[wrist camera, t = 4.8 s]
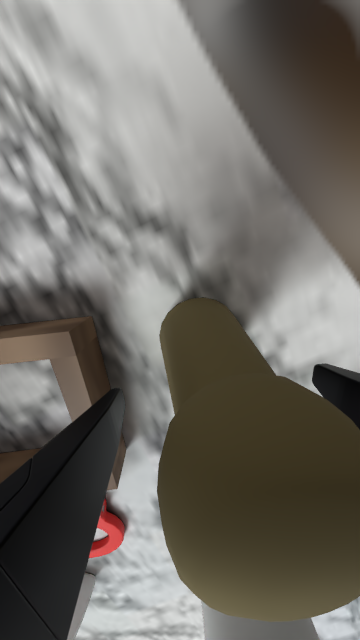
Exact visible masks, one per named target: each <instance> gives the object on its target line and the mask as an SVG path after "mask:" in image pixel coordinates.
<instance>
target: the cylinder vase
mask: <svg viewBox="0 0 360 640" xmlns="http://www.w3.org/2000/svg"><path fill="white" fill-rule="evenodd" d="M201 603H202V613H203V624H204V634H205V640H320V639H319V637H318V634H317V632H316V630H315V627H314V625H313V622H312V620H311V618H306V619H300V620H294V621H284V622H268V621H261V620H254V619H247V618H241V617H235V616H228V615H226V614H223V613H221V612H219V611H217V610H214V609H212V608H210V607H209V606H207V605H206V604H205V603H204V602H203V601H202V600H201Z"/></svg>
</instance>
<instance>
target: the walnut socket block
mask: <svg viewBox="0 0 360 640" xmlns="http://www.w3.org/2000/svg"><path fill="white" fill-rule="evenodd" d="M45 359H50V362H51V364H52V367H53V370H54V373H55V375H56V378H57V381H58V384H59V387H60V389H61V392H62V395H63V398H64V400H65V403H66V406H67V409H68V411H69V414H70V417H71V420H72V422H73V421H74V420H76V419H77V418H78V417H79V416H80V415H81V414H83V413H84V412H85V411H86V410H87V409H88V408H90V407H91V406H92V405H93V404H94V403H96V402H97V401H98V400H99V399H100V398H101V397H103V396H104V395H105V394H106V393H107V392H108V391H110V390H111V388H110V384H109V380H108V376H107V373H106V369H105V365H104V361H103V357H102V353H101V349H100V346H99V342H98V338H97V334H96V330H95V326H94V322H93V318H92V316H88V317H79V318H70V319H60V320H51V321H42V322H32V323H23V324H14V325H4V326H0V365H1V364H10V363H18V362H27V361H36V360H45ZM40 449H42V448H38V449H30V450H23V451H15V452H7V453H0V483H1V482H2V481H4V480H5V479H6V478H7V477H8V476H10V475H11V474H12V473H13V472H14V471H16V470H17V469H18V468H19V467H20V466H22V465H23V464H24V463H25V462H26V461H27V460H29V459H30V458H32V457H33V455H35V454H36V453H37V452H38V451H39V450H40ZM125 453H126V446H125V442H124V438H123V435H122V431H121V436H120V441H119V446H118V450H117V454H116V458H115V462H114V465H113V469H112V473H111V477H110V480H109V484H108V488H107V490H112V489H117V488H118V484H119V480H120V475H121V471H122V467H123V462H124V458H125Z"/></svg>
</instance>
